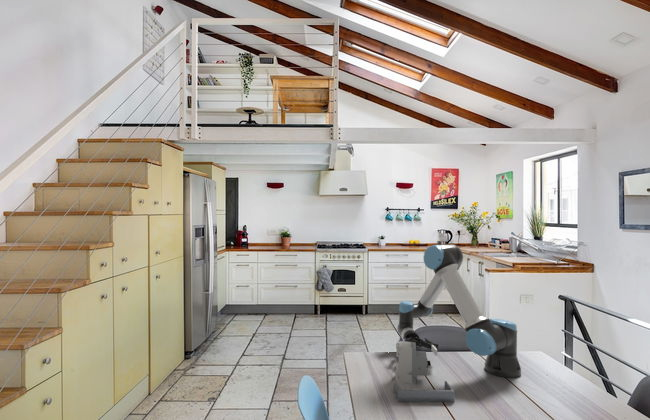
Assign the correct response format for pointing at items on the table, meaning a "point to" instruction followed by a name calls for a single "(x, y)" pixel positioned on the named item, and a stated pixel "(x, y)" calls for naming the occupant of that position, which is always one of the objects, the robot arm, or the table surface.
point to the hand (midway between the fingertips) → (421, 352)
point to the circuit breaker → (410, 362)
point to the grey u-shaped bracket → (424, 394)
